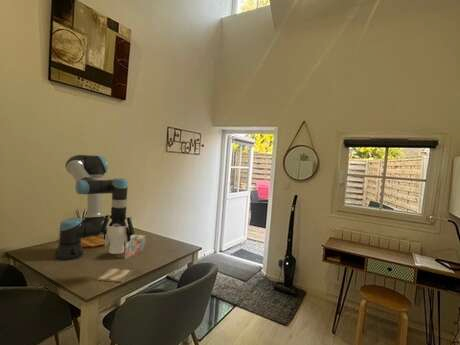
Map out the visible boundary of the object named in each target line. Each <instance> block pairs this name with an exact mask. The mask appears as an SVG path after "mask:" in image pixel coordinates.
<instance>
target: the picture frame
mask: <svg viewBox="0 0 460 345" xmlns="http://www.w3.org/2000/svg"><path fill="white" fill-rule="evenodd" d="M133 271H134V270H133V269H130V268H116V267H107V269H106V270H104V271H103V272H102V273H101V274H99V275H98V276H97V277H96V278H95V280H94V281H99V280H101V282H110V281H111V283H123V282H124V281H125V280H126V278H127V277H128V276H130V275H131V273H133Z"/></svg>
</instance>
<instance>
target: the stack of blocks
mask: <svg viewBox="0 0 460 345" xmlns="http://www.w3.org/2000/svg"><path fill="white" fill-rule="evenodd" d="M125 239H126V238H125ZM146 239H147V235H143V234H142V235H141V234H133V235H131V239H130V241H129V246H128V247H127V248H125V240H124V244H123V246H124V252H122V253H118V254H116V255H117V256H116V258H119V259H124V260H125V259H128V258H129V257H131V256H133V255H135V254H137V253H139V252H140V251H143V250H145V249H146V242H147V240H146Z"/></svg>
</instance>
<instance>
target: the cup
mask: <svg viewBox="0 0 460 345" xmlns="http://www.w3.org/2000/svg"><path fill="white" fill-rule="evenodd" d="M107 227H108V228H107V236H108V239H109V246H108V253H109V254H113V255H114V254H115V255H117V254H118V253H122V252H124V246H123V244H124V240H125V238H126V236H127V234H126V228H127V227H128V223H126V226H122V225H121V224H113V226H109V224H108V225H107ZM128 228H129V227H128Z"/></svg>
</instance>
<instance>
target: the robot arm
mask: <svg viewBox="0 0 460 345" xmlns="http://www.w3.org/2000/svg"><path fill="white" fill-rule="evenodd" d="M65 169H66V171H67V173H69V174H70V175H71V177H73V179H74V180H75V192H76V194H77V195H85V196H86V195H87V196H86V198H87V199H86V201H87V203H86V204H87V205H86V206H87V207H86V208H87V210H86V212H87V213H86V215H85V216H84V219H82V218H81V217H70V218H66V219H63V220H62V221H60V224H59V234H58V235H59V236H58V237H59V239H58V240H59V242H58V246H57V248H56V252H55V254H54V258H55V260H59V261H69V260H70V261H72V260H75V259H79V258H81V257H83V256H84V249H83V245H82V239H87V238H93V237H99V236H103V240H104V247H107V246H108V245H109V246H110V241H109V239H108V236H107V228H108V225H109V226H113V224H121V225H122V226H126V224H127V226H128V227H127V228H126V234H127V236H126V239H125V248H127V247H128V246H129V241H130V239H131V235H135V230H134V227H133V222H132V220H133V218H132V216H127V200H128V187H129V185H128V179H127V178H123V177H116V178H113V179H111V178H109V179H103V177H104V176H105V174H106V173H107V172H108V161H107V159H106V157H104V156H101V155H90V154H89V155H88V154H76V155H73V156H71V157H69V158H68V160H66V162H65ZM105 194H111V209H110V214H106V215H105V214H103V208H102V207H103V199H102V198H103V195H105ZM110 219H111V221H110ZM125 220H126V221H125ZM109 222H110V223H109ZM108 223H109V224H108Z"/></svg>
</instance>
